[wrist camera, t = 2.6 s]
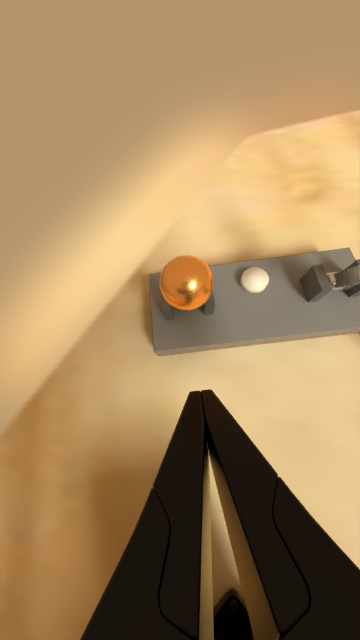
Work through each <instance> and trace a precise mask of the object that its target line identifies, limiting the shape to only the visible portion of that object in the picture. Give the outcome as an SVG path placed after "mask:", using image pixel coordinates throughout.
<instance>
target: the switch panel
mask: <svg viewBox="0 0 360 640" xmlns="http://www.w3.org/2000/svg"><path fill="white" fill-rule="evenodd" d="M359 265H360V259H359V260H355V258H354V256H353V254H352V252H351V250H350V248H343V249H335V250H328V251H321V252H313V253H306V254H298V255H291V256H283V257H276V258H268V259H261V260H253V261H246V262H238V263H231V264H224V265H216V266H209V268H210V270H211V272H212V275H213V279H214V286H213V291H212V294H211V296H210V297H209V299H208V300H207V301H206V303H204V304H203V305H202V306H200V308H196V309H193V310H178V311H177V308H175V307H173V306H171V305H170V304H169V303H168V302H167V301H166V300H165V299H164V297H163V295H162V293H161V290H160V277H161V273H156V274H149V275H150V293H151V312H152V330H153V348H154V352H155V353H156V354H157V355H158V356H164V355H172V354H181V353H189V352H198V351H207V350H215V349H224V348H232V347H241V346H250V345H258V344H267V343H275V342H284V341H292V340H301V339H310V338H318V337H327V336H335V335H344V334H353V333H360V284H357V285H354V286H353V287H352V288H350V289H345V290H337V291H331V290H333V289H332V286H331V284H330V282H329V279H328V277H327V275H326V273H332V272H340V271H343V270H347V269H350V268H353V267H356V266H359Z"/></svg>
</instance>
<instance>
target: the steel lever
mask: <svg viewBox="0 0 360 640" xmlns="http://www.w3.org/2000/svg"><path fill="white" fill-rule="evenodd" d="M326 275H327V277H328V279H329V282H330V284H331V286H332V289H333V290H331V291H337V290H345V289H350V288H352V287H353V286H354V285H357V284H360V265H359V266H356V267H353V268H350V269H347V270H343V271H340V272H332V273H326Z"/></svg>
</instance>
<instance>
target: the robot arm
mask: <svg viewBox="0 0 360 640" xmlns="http://www.w3.org/2000/svg"><path fill="white" fill-rule="evenodd" d="M207 444H208V445H207ZM208 451H209V454H208ZM209 456H210V461H211V465H212V469H213V473H214V477H215V481H216V485H217V489H218V493H219V497H220V502H221V506H222V510H223V514H224V518H225V522H226V526H227V530H228V534H229V538H230V542H231V546H232V550H233V554H234V558H235V562H236V566H237V570H238V574H239V578H240V582H241V586H242V590H243V595H244V599H245V603H246V604H245V603H244V601H243V600H242V598H241V597H240V595H239V594H238V593H237V592H236V591H235V590H233V589H232V590H229V591H228V592H227V593H226V594H225V596H224V597H223V598H222V599H221V601H220V602H219V603H218V605H217V606H216V607H215V609H214V610H213V586H212V551H211V516H210V481H209ZM232 600H234V601H236V604H235V605H232V604H231V601H232ZM80 640H360V569H359V568H358V567H357V566H356V565H355V564H354V563H353V562H352V560H351V559H350V558H349V557H348V556H347V555H346V554H345V553H344V552H343V551H342V550H341V548H340V547H339V546H338V545H337V544H336V543H335V542H334V541H333V540H332V538H331V537H330V536H329V535H328V534H327V533H326V532H325V531H324V529H323V528H322V527H321V526H320V525H319V524H318V523H317V522H316V520H315V519H314V518H313V517H312V516H311V515H310V514H309V512H308V511H307V510H306V509H305V507H304V506H303V505H302V504H301V503H300V501H299V500H298V499H297V498H296V496H295V495H294V494H293V493H292V492H291V490H290V489H289V488H288V486H287V485H286V484H285V483H284V481H283V480H282V479H281V478H280V477H278V474H277V473H276V471H275V470H274V469H273V467H272V466H271V465H270V464H269V462H268V461H267V460H266V459H265V457H264V456H263V455H262V453H261V452H260V451H259V450H258V448H257V447H256V446H255V444H254V443H253V442H252V441H251V439H250V438H249V437H248V436H247V434H246V433H245V432H244V430H243V429H242V428H241V427H240V425H239V424H238V423H237V422H236V420H235V419H234V418H233V416H232V415H231V414H230V413H229V411H228V410H227V409H226V407H225V406H224V405H223V404H222V402H221V401H220V400H219V399H218V397H217V396H216V395H215V393H214V392H213V391H212V390H202V391H201V392H200V391H192V392H190V393H189V395H188V397H187V400H186V402H185V405H184V407H183V410H182V412H181V415H180V418H179V420H178V423H177V425H176V428H175V430H174V433H173V435H172V438H171V440H170V443H169V445H168V448H167V450H166V453H165V456H164V458H163V461H162V463H161V466H160V468H159V471H158V473H157V476H156V478H155V481H154V483H153V488H152V489H151V491H150V493H149V496H148V498H147V501H146V503H145V506H144V508H143V510H142V513H141V515H140V518H139V520H138V522H137V525H136V527H135V529H134V531H133V534H132V536H131V538H130V540H129V542H128V544H127V546H126V548H125V550H124V552H123V555H122V557H121V559H120V561H119V563H118V565H117V567H116V569H115V571H114V573H113V575H112V577H111V579H110V581H109V583H108V585H107V587H106V589H105V591H104V593H103V595H102V597H101V599H100V601H99V603H98V605H97V607H96V609H95V611H94V613H93V615H92V617H91V619H90V621H89V623H88V625H87V627H86V629H85V631H84V633H83V635H82V637H81V639H80Z"/></svg>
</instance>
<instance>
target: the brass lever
mask: <svg viewBox="0 0 360 640" xmlns="http://www.w3.org/2000/svg"><path fill="white" fill-rule="evenodd" d="M213 286H214V279H213V275H212V272H211V270H210V268H209V266H208V265H207V264H206V263H205V262H204V261H203V260H201V259H199V258H197V257H194V256H189V255H185V256H179V257H176V258H174V259H173V260H171V261H170V262H169V263H168V264H167V265H166V266H165V267H164V269H163V271H162V273H161V277H160V290H161V293H162V295H163V297H164V299H165V300H166V301H167V302H168V303H169V304H170V305H171V306H173V307H175V308H177V311H178V310H193V309H196V308H200V306H202V305H203V304H204V303H206V301H207V300H208V299H209V297H210V296H211V294H212V291H213Z"/></svg>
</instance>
